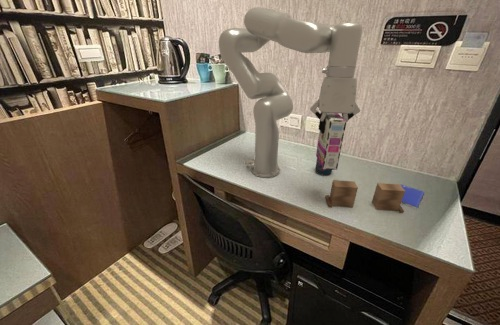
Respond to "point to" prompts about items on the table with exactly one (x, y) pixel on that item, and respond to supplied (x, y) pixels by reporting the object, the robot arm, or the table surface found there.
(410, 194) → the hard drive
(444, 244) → the table surface
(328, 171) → the soda can
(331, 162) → the candy bar box
